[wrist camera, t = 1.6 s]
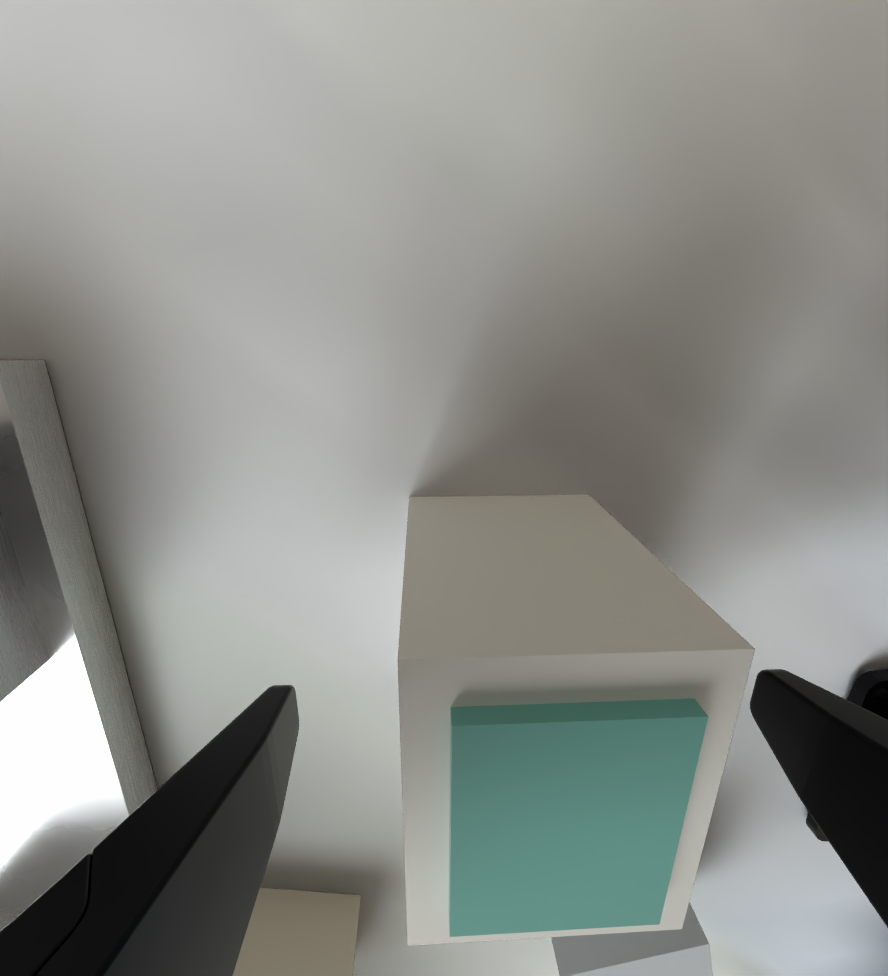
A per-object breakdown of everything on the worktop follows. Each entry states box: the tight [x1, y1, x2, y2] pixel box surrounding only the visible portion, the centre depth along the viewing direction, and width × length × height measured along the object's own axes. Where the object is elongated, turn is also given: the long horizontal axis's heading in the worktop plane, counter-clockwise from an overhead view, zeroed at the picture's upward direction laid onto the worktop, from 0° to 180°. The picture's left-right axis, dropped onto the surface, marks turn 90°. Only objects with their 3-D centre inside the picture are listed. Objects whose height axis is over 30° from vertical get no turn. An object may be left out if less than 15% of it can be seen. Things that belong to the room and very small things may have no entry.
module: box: [398, 495, 755, 946], centre depth 9 cm, size 4×6×6 cm
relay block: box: [551, 902, 713, 976], centre depth 14 cm, size 4×4×4 cm
